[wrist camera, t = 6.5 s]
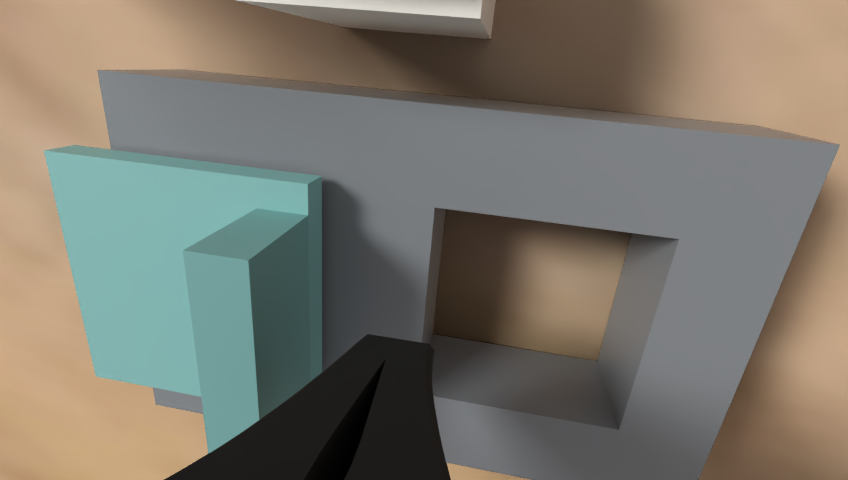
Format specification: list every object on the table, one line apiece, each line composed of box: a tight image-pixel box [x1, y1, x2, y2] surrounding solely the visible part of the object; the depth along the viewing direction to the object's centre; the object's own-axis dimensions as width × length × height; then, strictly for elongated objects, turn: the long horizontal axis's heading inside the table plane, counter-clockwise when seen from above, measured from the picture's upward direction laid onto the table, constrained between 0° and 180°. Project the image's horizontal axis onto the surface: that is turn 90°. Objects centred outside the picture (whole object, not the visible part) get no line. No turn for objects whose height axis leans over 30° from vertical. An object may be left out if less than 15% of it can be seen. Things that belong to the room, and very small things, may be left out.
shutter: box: [44, 145, 322, 454], centre depth 10 cm, size 6×6×3 cm
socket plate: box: [97, 70, 840, 480], centre depth 13 cm, size 10×16×3 cm, turn 85°
